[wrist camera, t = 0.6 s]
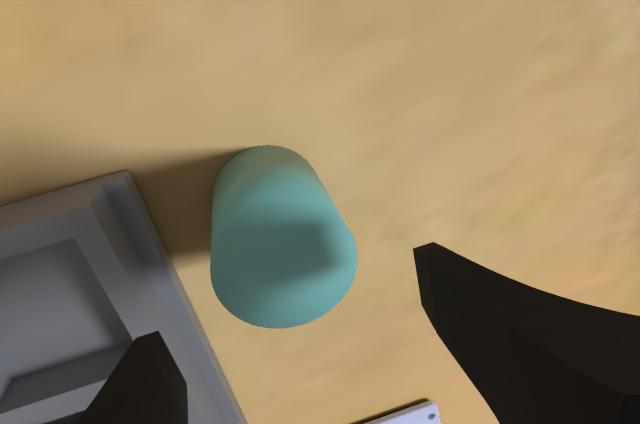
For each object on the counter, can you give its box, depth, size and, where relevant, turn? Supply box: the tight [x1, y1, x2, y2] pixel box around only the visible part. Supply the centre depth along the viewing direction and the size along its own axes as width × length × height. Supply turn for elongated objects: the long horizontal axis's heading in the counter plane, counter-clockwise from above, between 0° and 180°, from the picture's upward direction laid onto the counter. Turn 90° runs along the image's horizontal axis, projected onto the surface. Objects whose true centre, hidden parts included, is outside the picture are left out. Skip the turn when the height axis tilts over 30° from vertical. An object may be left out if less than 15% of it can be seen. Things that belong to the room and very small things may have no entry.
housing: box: [0, 169, 247, 424], centre depth 18 cm, size 16×10×6 cm, turn 13°
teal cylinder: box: [210, 145, 357, 328], centre depth 17 cm, size 5×5×6 cm
